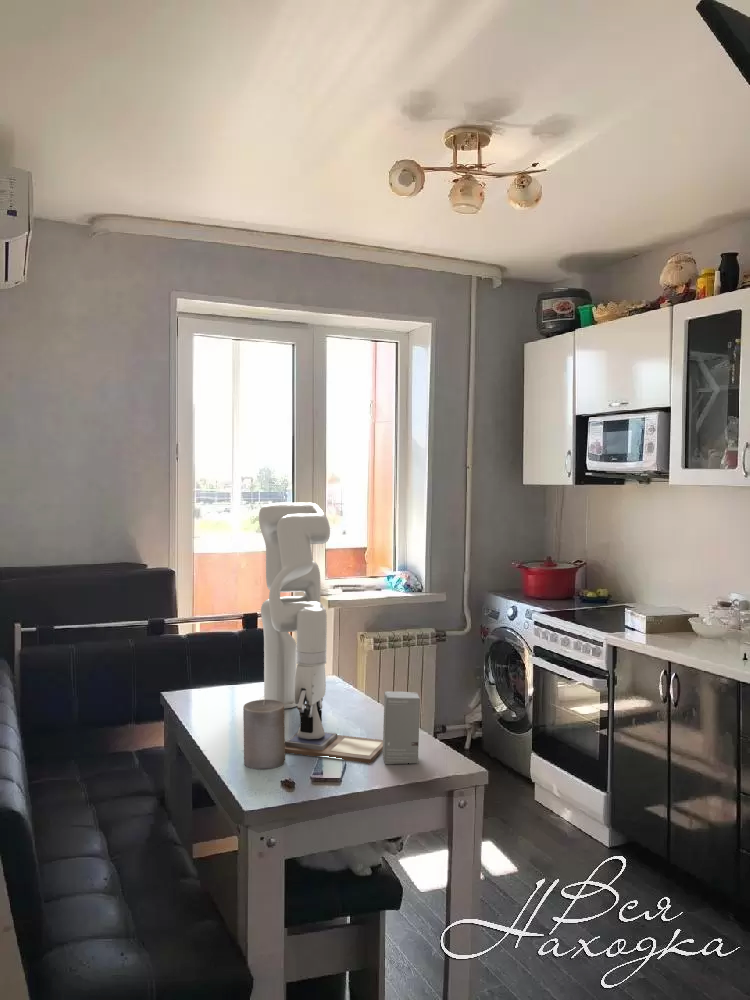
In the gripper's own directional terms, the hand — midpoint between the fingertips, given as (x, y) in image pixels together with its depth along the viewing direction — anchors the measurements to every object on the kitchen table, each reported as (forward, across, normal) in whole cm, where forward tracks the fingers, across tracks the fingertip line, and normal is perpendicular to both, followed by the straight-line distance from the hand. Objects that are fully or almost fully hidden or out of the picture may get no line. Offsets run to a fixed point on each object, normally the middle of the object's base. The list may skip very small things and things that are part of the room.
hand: (311, 727), depth 204 cm
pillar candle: (+4, +15, -6) cm, 17 cm away
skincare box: (+4, +2, +24) cm, 25 cm away
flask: (+2, 0, 0) cm, 2 cm away
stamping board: (+4, 0, +6) cm, 8 cm away
